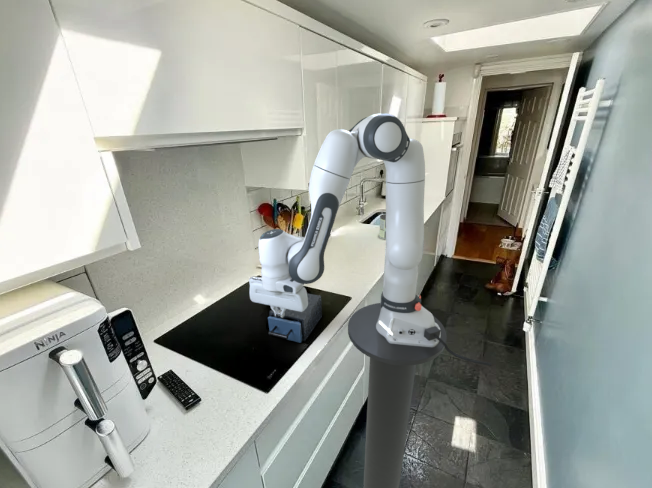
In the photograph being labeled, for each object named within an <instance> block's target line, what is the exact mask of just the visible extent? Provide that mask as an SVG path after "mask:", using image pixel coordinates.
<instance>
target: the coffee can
mask: <svg viewBox="0 0 652 488" xmlns="http://www.w3.org/2000/svg"><path fill="white" fill-rule="evenodd" d="M378 234H379V235H378V237H379V239H382V240H386V213H384V214H380V215H379V233H378Z"/></svg>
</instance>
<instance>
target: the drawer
mask: <svg viewBox="0 0 652 488" xmlns="http://www.w3.org/2000/svg"><path fill="white" fill-rule="evenodd" d="M267 323H268V328H269V329H268V336H270V337H274V338H278V339H281V340H282V339H283V340H287V341H291V342H295V343H300V344H301V343H302V342H303V341H302V337H303V333H302V321H301V320H296V319H291V318H286V317H283V318H281V317H276V316H275V315H273V317H271V316H270V315H268V317H267Z"/></svg>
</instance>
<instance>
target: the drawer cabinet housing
mask: <svg viewBox="0 0 652 488" xmlns="http://www.w3.org/2000/svg"><path fill="white" fill-rule="evenodd" d="M307 297H308V306H307V308H306V309H305V310H304V311H303V312H299V311H294V310H289V309H286V310H285V311H284V313H285V316H284V317H286V318H291V319H296V320H301V321H302V333H303V337H302V342H306V341H307V340H308V338H309V336H310V335H311V333H312V332H313V330H314V329H315V328H316V326H317V324H318V323H319V321H320V320H321V319H322V317H323V307H322V295H318V294H312V293H307ZM277 308H278V310H281V309H280V307H277ZM281 311H282V310H281ZM268 314H269V316H271V317H273V315H275V314H274V312H273V310H272V309H271V310H269V312H268Z"/></svg>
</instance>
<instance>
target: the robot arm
mask: <svg viewBox="0 0 652 488" xmlns="http://www.w3.org/2000/svg"><path fill="white" fill-rule="evenodd" d="M364 158H368V159H373V160H379V161H383V164H384V168H385V169H384V170H385V214H386V239H385V249H384V250H385V251H384V267H383V268H384V269H383V283H382V291H381V293H380V301H379V303H380V304H381V311H380V315H379V319H378V321H377V323H376V329H377V331H378V332H379V333H380V334H381V335H382V336H384V337H385V338H386V339H387V341H388V342H389V343H391V344H400V345H411V346H422V347H435V346H436V345H437V344H438V343H439V341H440V342H441V343H442V344H443V345H444V347H445V348H444V349H445V350H446V351H447V352H448V353H449V354H450V355H452V356H454V357H456V358H458V359H461V360H463V361H467V362H469V363H473V364H478V365H484V366H488V367H491V366H492V362H488V361H481V360H477V359H473V358H469V357H467V356H463V355H460V354H458V353H456V352H454V351H453V350H451V349H450V348H449V346H448V345H447V342H446V343H445V342H444V341H443V340H442V339H441V338H440V337H441V330H440V328H439V326H438V324H437V323H435V321H434V317H435V316H434V315H433V313H431V311H430V310H428V309H427V308H426V307H424V306H423V305H422V296H421V295H419V296H418V295H417V286H418V278H419V264H420V263H421V262H422V259H423V256H424V250H425V185H426V161H425V153H424V147H423V144H422V143H421V141H419V140H417V139H415V138H410V136H409V135H408V133H407V131H406V128H405V126H404V124H403V122H402V121H401V120H400V119H399V118H398V117H397V116H395V115H394V114H391V113H373V114H371V115H369V116H366V117H364V118H362V119H360V120H359V121H357V122H356V124H354V126H353V127H352V128H350V129H349V130H347V129H341V128H337V129H333V130H331V131H329V132H328V134H327V135H326V137H325V138H324V140H323V142H322V143H321V146H320V149H319V150H318V153H317V154H316V158H315V159H314V162H313V165H312V168H311V172H310V176H309V182H308V195H309V199H310V205H311V206H310V207H311V213H310V220H309V223H308V226H307V229H306V232H305V236H298V235H294V234H290V233H288V232H286V231H285V230H283V229H281V228H274V229H270V230H266V231H265V232H264V233H262V234H261V235H260V237H259V239H258V259H259V263H260V265H261V270H260V274H261V275H260V276H257V275H252V276H251V277H249V279H248V284H249V300H250V301H251V302H252V303H256V304H261V305H265V306H270V309H271V310H273V312H274V314H275V316H276V317H281V318H283V317H284V316H285V313H284V311H285V310H286V309H289V310H294V311H299V312H303V311H304V310H305V309H306V308H307V306H308V297H307V294H308V292H307V288H305V285H309V284H313V283H315V282H318V281H319V280H320V279H321V277H322V276H323V275H324V271H325V251H326V249H327V245H328V242H329V239H330V236H331V233H332V230H333V227H334V223H335V220H336V217H337V213H338V212H339V209H340V206H341V203H342V201H343V199H344V196H345V194H346V192H347V189H348V186H349V185H350V181H351V179H352V176H353V173H354V170H355V168H356V166H357V165H358V164H359V162H360V161H361V160H362V159H364ZM277 307H280V309H281V310H282V311H281V310H278V308H277ZM433 316H434V317H433Z"/></svg>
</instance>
